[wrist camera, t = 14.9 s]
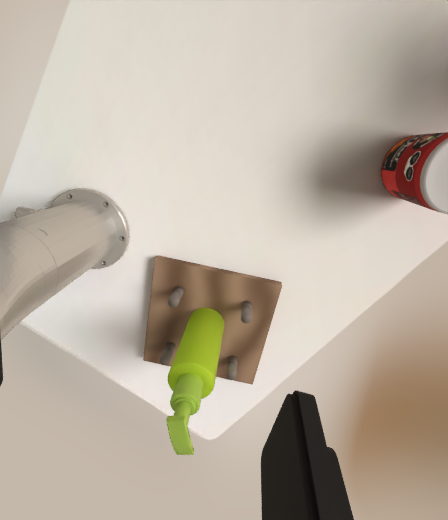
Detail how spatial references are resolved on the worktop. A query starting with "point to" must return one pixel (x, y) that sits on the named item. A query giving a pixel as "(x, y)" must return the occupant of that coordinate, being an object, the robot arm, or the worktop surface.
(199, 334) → the soap dispenser
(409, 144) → the canned food
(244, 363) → the peg stand
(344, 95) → the worktop surface
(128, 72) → the worktop surface
